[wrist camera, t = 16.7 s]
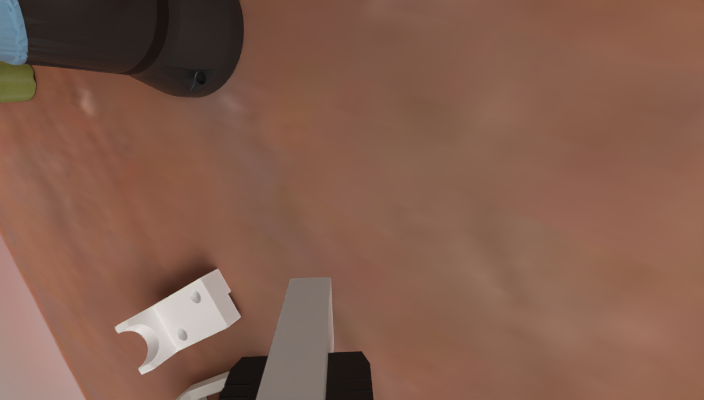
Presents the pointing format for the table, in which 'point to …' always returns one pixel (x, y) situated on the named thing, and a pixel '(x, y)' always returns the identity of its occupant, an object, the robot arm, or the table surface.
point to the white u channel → (204, 388)
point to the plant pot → (16, 82)
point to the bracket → (183, 318)
